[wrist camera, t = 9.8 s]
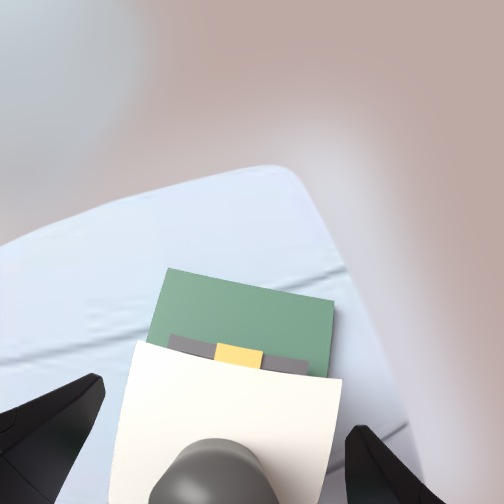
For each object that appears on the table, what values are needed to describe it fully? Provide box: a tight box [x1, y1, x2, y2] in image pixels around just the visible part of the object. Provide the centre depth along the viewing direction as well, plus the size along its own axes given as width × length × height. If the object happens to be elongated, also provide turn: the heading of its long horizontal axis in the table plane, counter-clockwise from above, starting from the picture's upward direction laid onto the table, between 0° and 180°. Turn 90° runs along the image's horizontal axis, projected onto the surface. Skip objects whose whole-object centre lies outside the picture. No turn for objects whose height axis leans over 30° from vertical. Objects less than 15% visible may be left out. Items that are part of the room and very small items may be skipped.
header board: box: [146, 268, 334, 378], centre depth 14 cm, size 18×12×4 cm, turn 170°
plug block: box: [108, 340, 343, 504], centre depth 8 cm, size 5×4×14 cm
